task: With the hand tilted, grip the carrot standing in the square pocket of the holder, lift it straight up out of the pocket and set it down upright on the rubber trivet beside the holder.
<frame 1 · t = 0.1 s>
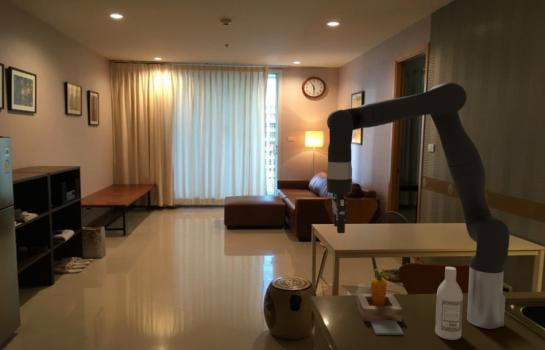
hand: (339, 229, 124), 29 cm above the counter, tool pointing down, fingers open, 8 cm apart
trivet: (386, 328, 123), on the counter
holder: (378, 312, 133), on the counter
carrot: (378, 313, 133), resting in holder
bath foam: (447, 335, 119), on the counter
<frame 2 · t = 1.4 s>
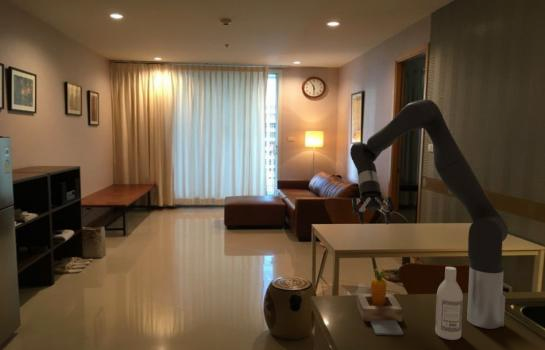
hand: (375, 223, 141), 27 cm above the counter, tool tilted 45°, fingers open, 8 cm apart
nothing on the counter moved.
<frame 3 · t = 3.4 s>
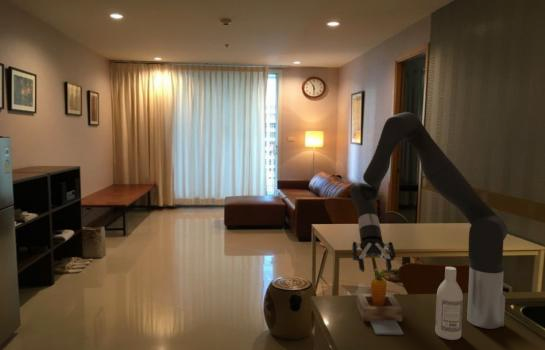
hand: (375, 271, 136), 12 cm above the counter, tool tilted 45°, fingers open, 8 cm apart
nothing on the counter moved.
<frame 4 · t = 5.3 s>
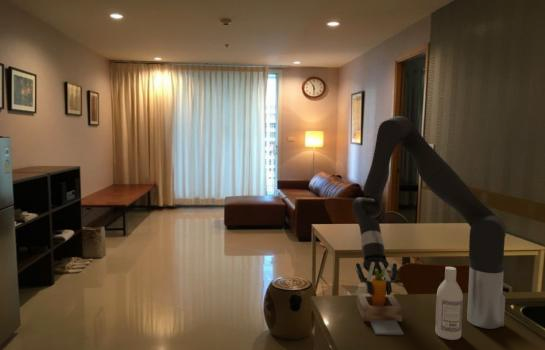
hand: (380, 294, 130), 7 cm above the counter, tool tilted 45°, fingers closed on carrot, 5 cm apart
carrot: (378, 313, 133), resting in holder, touching gripper
everything else where it was.
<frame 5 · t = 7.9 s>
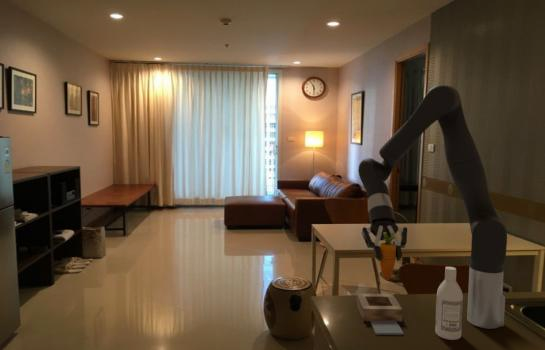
hand: (389, 259, 119), 22 cm above the counter, tool tilted 45°, fingers closed on carrot, 5 cm apart
carrot: (387, 281, 122), point 14 cm above the counter, touching gripper
everything else where it was.
when the fingers open (8 cm above the counter, at t = 10.9 s): carrot stays where it is, resting on trivet.
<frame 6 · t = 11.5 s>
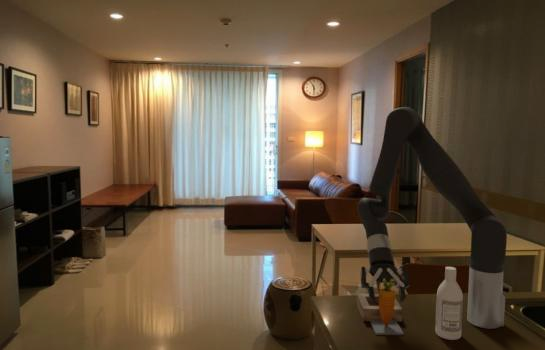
hand: (388, 300, 120), 9 cm above the counter, tool tilted 45°, fingers open, 8 cm apart
carrot: (386, 326, 123), resting on trivet
everything else where it was.
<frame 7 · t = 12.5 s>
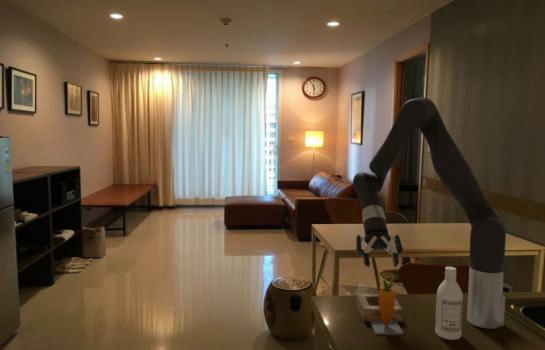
hand: (382, 265, 127), 17 cm above the counter, tool tilted 45°, fingers open, 8 cm apart
nothing on the counter moved.
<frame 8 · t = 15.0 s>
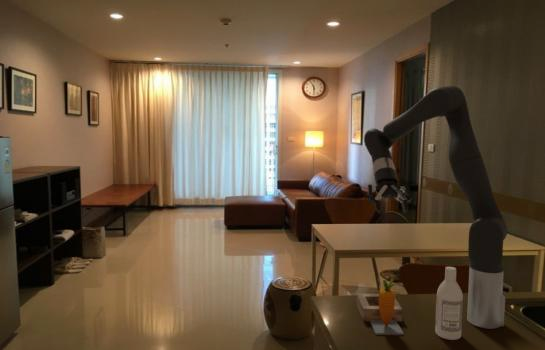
hand: (392, 211, 134), 33 cm above the counter, tool tilted 45°, fingers open, 8 cm apart
nothing on the counter moved.
at the end: carrot inside the target area on the trivet (0.2 cm from its centre), point 0.4 cm above the trivet's base; carrot tilted 0°; carrot touching trivet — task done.
